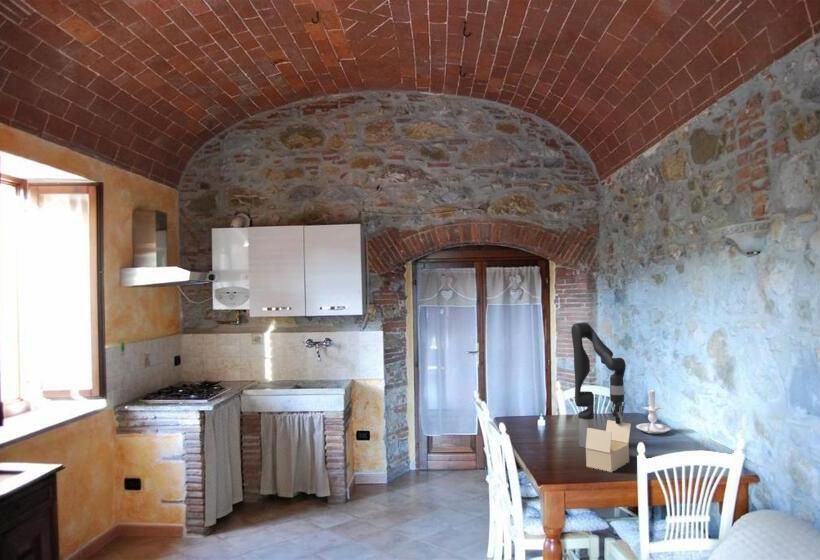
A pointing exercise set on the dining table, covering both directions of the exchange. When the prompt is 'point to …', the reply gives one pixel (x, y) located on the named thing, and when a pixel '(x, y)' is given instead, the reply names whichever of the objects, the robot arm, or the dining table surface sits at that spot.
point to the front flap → (598, 440)
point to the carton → (608, 457)
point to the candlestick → (652, 418)
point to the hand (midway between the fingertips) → (618, 423)
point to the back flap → (619, 431)
